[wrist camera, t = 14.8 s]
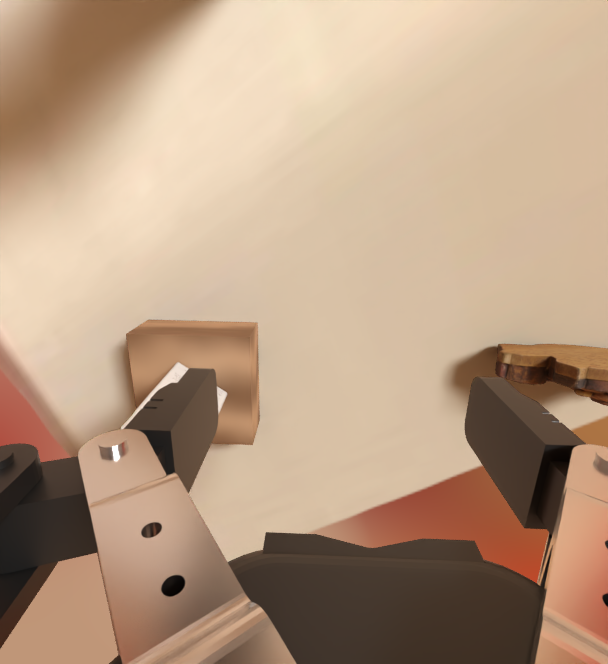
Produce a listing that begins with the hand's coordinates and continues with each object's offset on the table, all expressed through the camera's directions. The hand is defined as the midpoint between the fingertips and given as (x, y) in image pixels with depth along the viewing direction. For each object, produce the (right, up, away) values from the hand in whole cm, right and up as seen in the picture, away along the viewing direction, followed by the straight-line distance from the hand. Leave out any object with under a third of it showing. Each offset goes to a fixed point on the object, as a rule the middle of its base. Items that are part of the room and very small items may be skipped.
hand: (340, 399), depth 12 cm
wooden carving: (+26, 0, +29) cm, 39 cm away
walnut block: (-12, -2, +31) cm, 33 cm away
